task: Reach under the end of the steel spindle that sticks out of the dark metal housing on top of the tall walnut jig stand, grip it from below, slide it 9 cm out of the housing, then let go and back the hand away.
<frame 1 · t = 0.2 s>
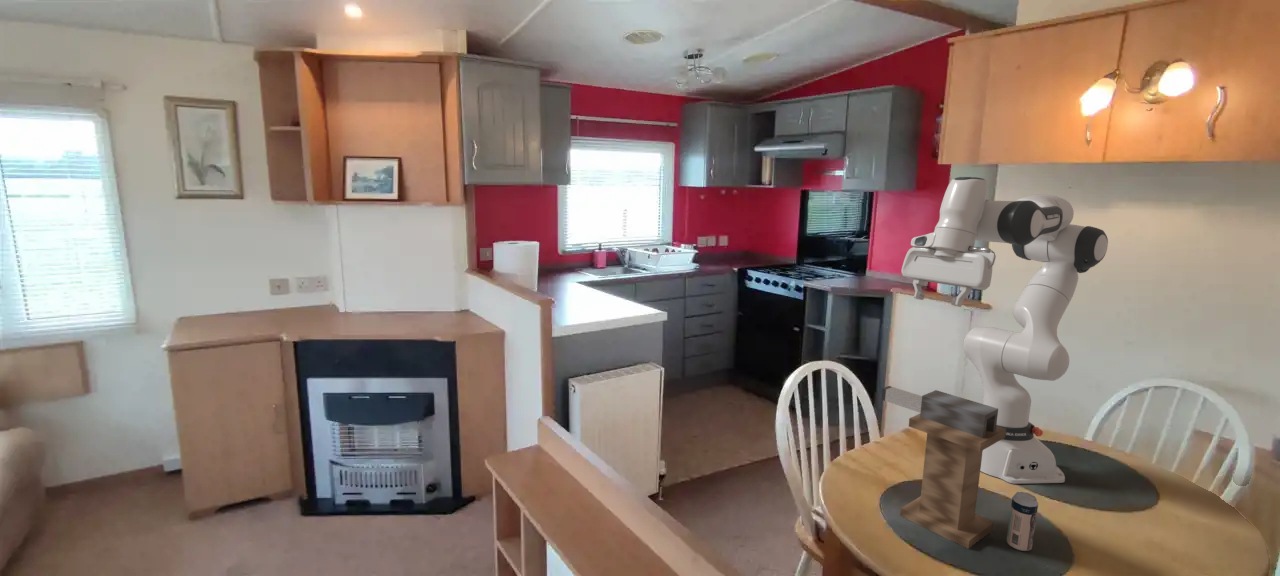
hand: (936, 302, 139), 52 cm above the table, tool tilted 15°, fingers open, 8 cm apart
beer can: (1018, 546, 133), on the table
jig stand: (945, 522, 142), on the table
spindle bar: (927, 406, 142), point 27 cm above the table, slide at 0.0 cm
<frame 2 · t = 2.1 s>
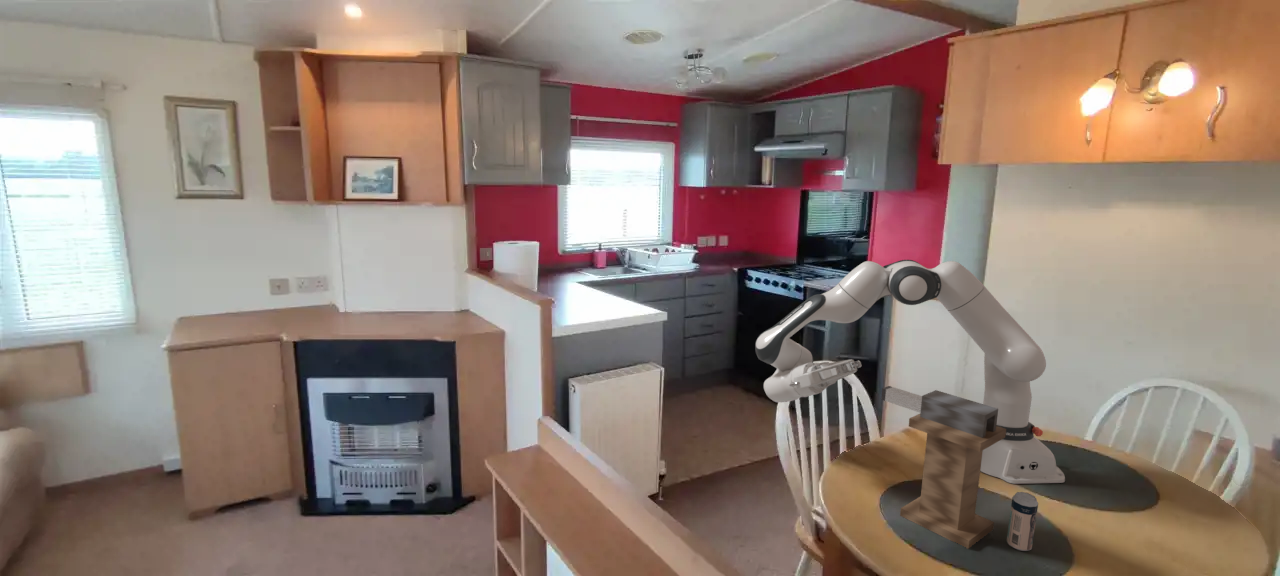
hand: (848, 367, 158), 31 cm above the table, tool pointing upward, fingers open, 8 cm apart
nothing on the table moved.
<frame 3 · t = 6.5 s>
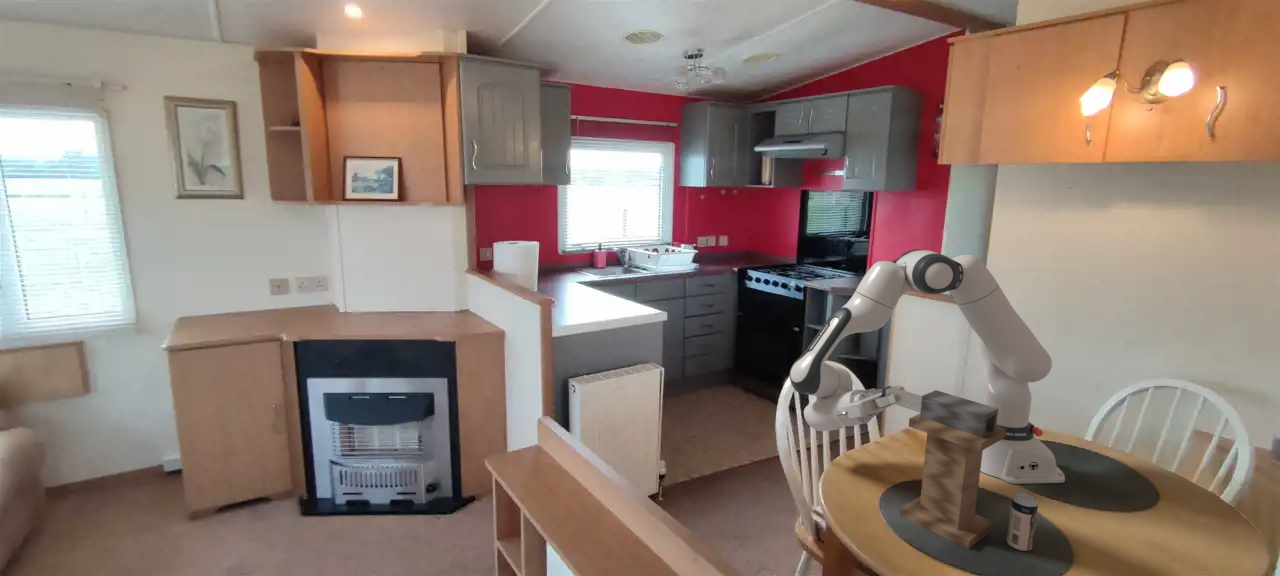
hand: (901, 396, 147), 27 cm above the table, tool pointing upward, fingers closed on spindle bar, 3 cm apart
spindle bar: (927, 406, 142), point 27 cm above the table, slide at 0.0 cm, touching gripper
everything else where it was.
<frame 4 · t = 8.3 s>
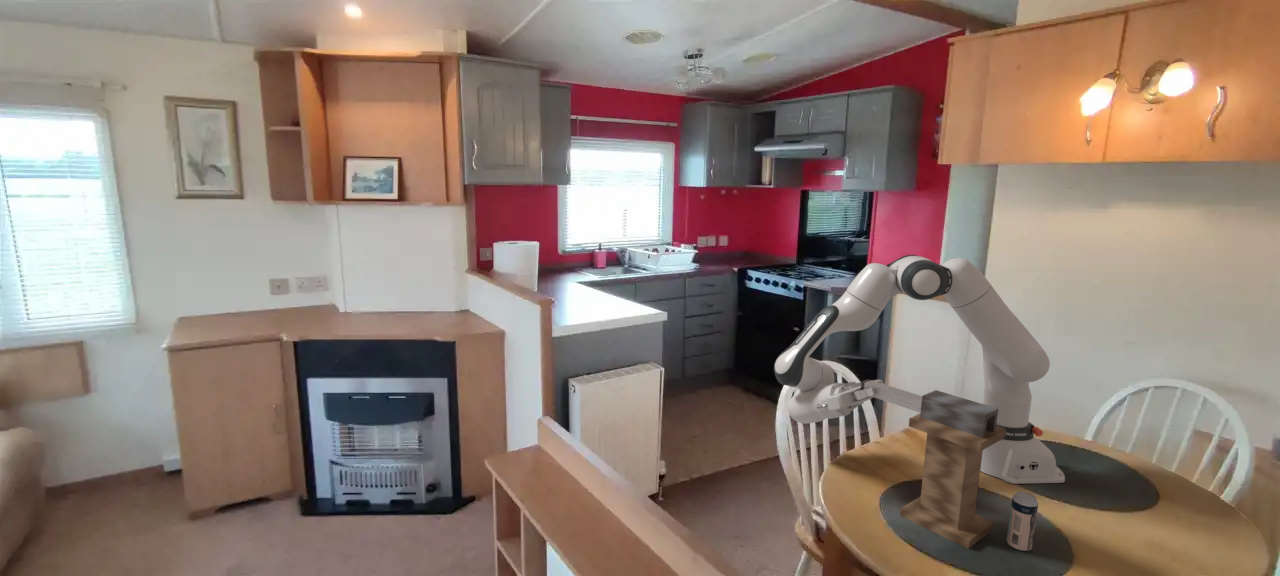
hand: (879, 389, 152), 27 cm above the table, tool pointing upward, fingers closed on spindle bar, 3 cm apart
spindle bar: (904, 398, 147), point 27 cm above the table, slide at 6.0 cm, touching gripper
everything else where it was.
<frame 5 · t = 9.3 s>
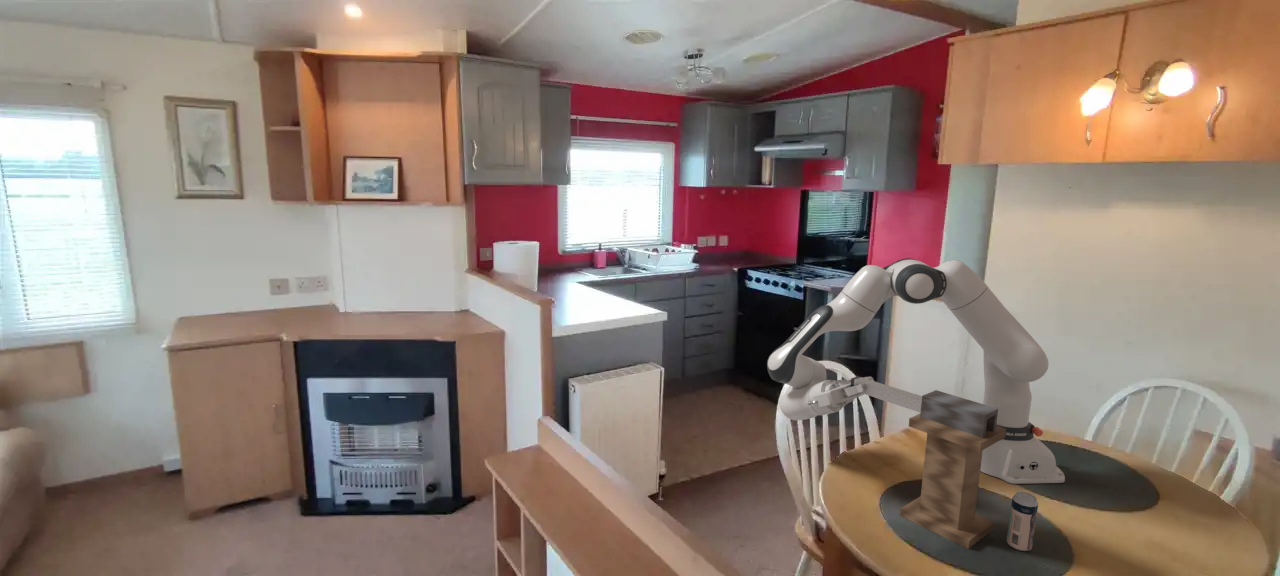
hand: (868, 385, 154), 27 cm above the table, tool pointing upward, fingers closed on spindle bar, 3 cm apart
spindle bar: (892, 395, 149), point 27 cm above the table, slide at 8.9 cm, touching gripper
everything else where it was.
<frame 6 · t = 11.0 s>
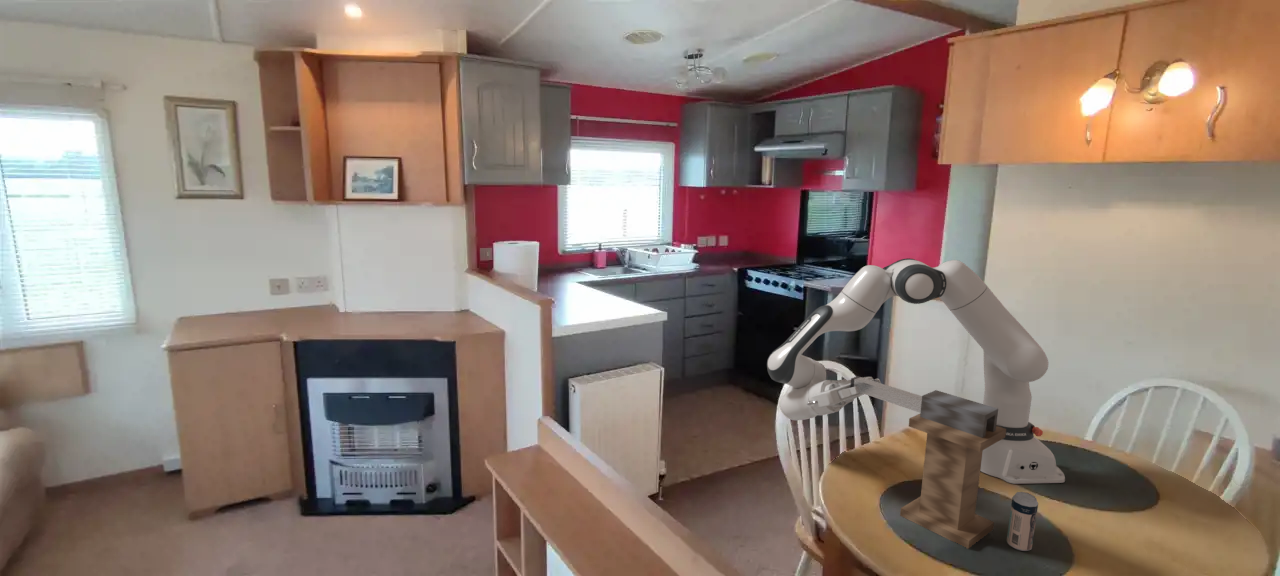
hand: (868, 385, 154), 27 cm above the table, tool pointing upward, fingers open, 8 cm apart
spindle bar: (892, 395, 149), point 27 cm above the table, slide at 9.0 cm
everything else where it was.
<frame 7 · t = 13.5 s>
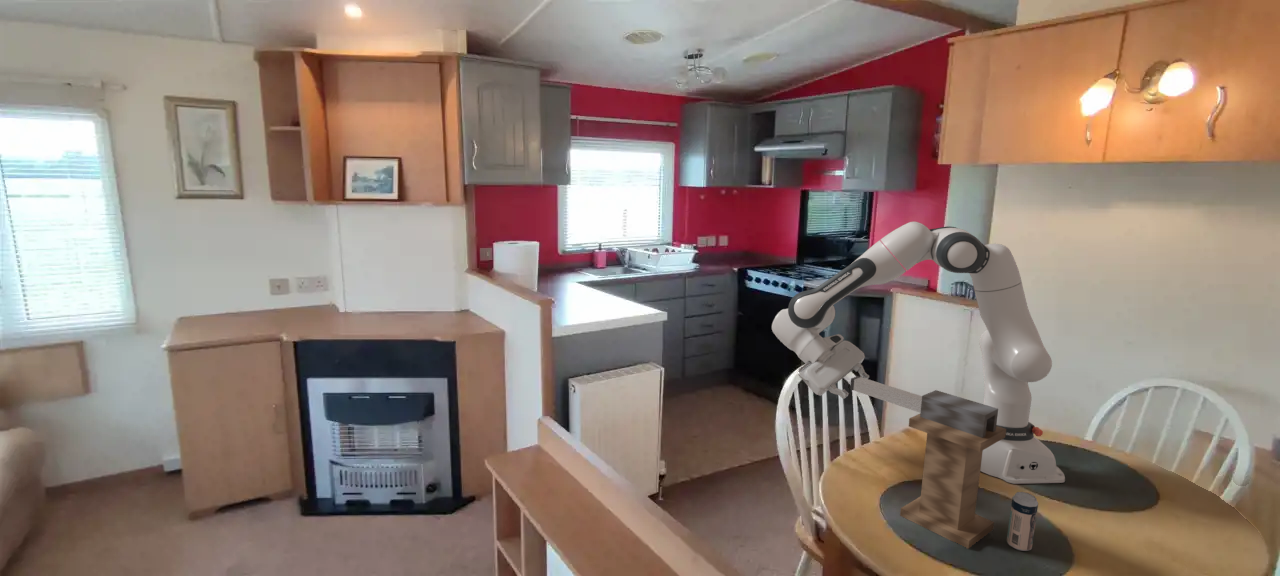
hand: (856, 387, 165), 23 cm above the table, tool tilted 60°, fingers open, 8 cm apart
nothing on the table moved.
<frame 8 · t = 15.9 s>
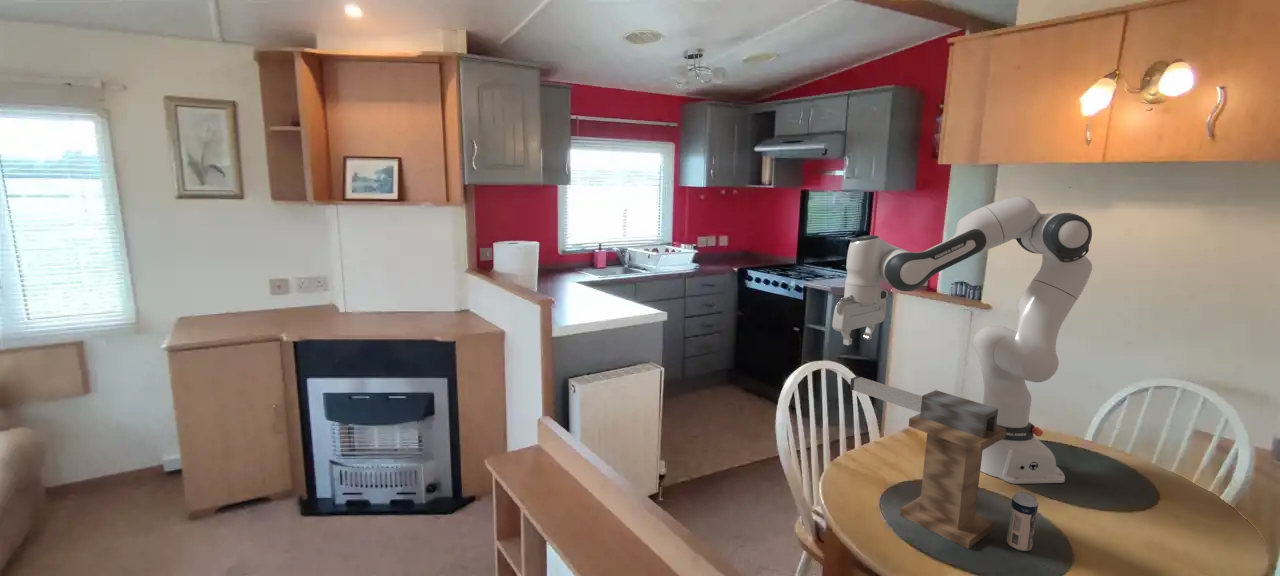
hand: (857, 341, 169), 34 cm above the table, tool pointing down, fingers open, 8 cm apart
nothing on the table moved.
at the end: spindle bar slide at 9.0 cm; the gripper is holding nothing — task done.
